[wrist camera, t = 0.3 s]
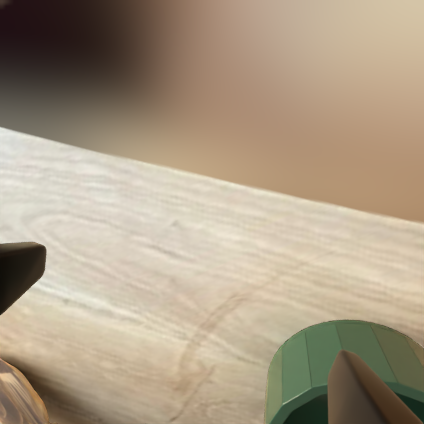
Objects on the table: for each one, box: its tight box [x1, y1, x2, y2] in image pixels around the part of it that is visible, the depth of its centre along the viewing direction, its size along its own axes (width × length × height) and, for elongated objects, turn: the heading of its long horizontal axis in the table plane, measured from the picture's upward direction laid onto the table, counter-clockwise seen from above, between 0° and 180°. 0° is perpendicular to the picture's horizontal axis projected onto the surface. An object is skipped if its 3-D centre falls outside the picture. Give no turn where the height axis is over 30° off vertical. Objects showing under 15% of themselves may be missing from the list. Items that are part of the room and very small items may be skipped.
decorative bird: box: [0, 358, 57, 424], centre depth 29 cm, size 6×25×5 cm, turn 73°
